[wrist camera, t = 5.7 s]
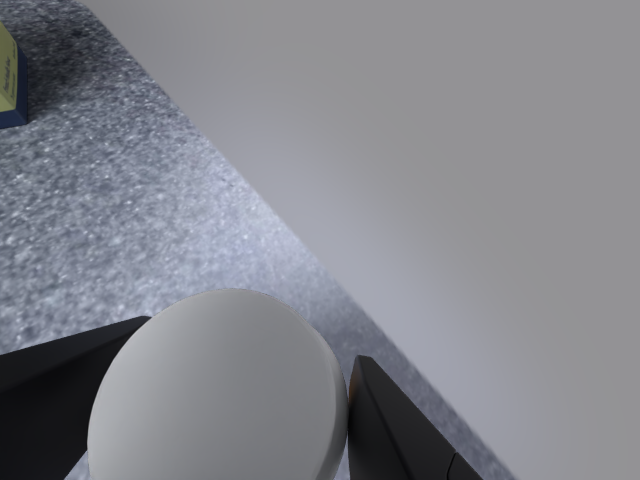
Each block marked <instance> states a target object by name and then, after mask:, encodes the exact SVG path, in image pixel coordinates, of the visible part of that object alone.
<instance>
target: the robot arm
mask: <svg viewBox="0 0 640 480" xmlns="http://www.w3.org/2000/svg"><path fill="white" fill-rule="evenodd" d="M151 318H152V317H149V316H139V317H136V318H132V319H128V320H125V321H121V322H118V323H114V324H110V325H107V326H103V327H100V328H96V329H92V330H89V331H85V332H82V333H78V334H74V335H71V336H67V337H64V338H60V339H56V340H53V341H49V342H46V343H42V344H38V345H35V346H31V347H28V348H24V349H20V350H17V351H13V352H10V353H6V354H2V355H0V480H64V479H65V477H66V476H67V475H68V474H69V472H70V471H71V470H72V469H73V467H74V466H75V465H76V463H77V462H78V461H79V460H80V458H81V457H82V456H83V455H84V453H85V452H86V451H87V449H88V447H87V440H88V429H89V422H90V417H91V412H92V408H93V404H94V401H95V398H96V396H97V393H98V390H99V387H100V385H101V383H102V380H103V378H104V376H105V374H106V372H107V371H108V369H109V367H110V365H111V363H112V361H113V360H114V358H115V357H116V356H117V354H118V353H119V351H120V350H121V348H122V347H123V346H124V345H125V343H126V342H127V341H128V340H129V339H130V337H131V336H132V335H133V334H134V333H135V332H136V331H137V330H138V329H139V328H140V327H142V326H143V325H144V324H145V323H146V322H147V321H148V320H150V319H151ZM455 452H456V450H455V449H454V447H453V446H452V445H451V444H450V443H449V442H448V441H447V440H446V439H445V438H444V436H443V435H442V434H441V433H440V432H439V431H438V430H437V429H436V428H435V427H434V425H433V424H432V423H431V422H430V421H429V420H428V419H427V418H426V417H425V416H424V414H423V413H422V412H421V411H420V410H419V409H418V408H417V407H416V406H415V405H414V403H413V402H412V401H411V400H410V399H409V398H408V397H407V396H406V395H405V394H404V392H403V391H402V390H401V389H400V388H399V387H398V386H397V385H396V384H395V383H394V381H393V380H392V379H391V378H390V377H389V376H388V375H387V374H386V373H385V372H384V370H383V369H382V368H381V367H380V366H379V365H378V364H377V363H376V362H375V361H374V359H373V358H371V357H367V356H362V355H358V356H356V358H355V362H354V366H353V371H352V375H351V380H350V386H349V422H348V458H349V470H350V480H483V479H482V478H481V477H480V476H479V475H478V473H477V472H476V471H475V470H474V469H473V468H472V467H471V466H470V465H469V464H468V463H467V462H466V461H465V459H464V458H463V457H462V456H461V455H460V454H459V453H458V452H456V453H455Z"/></svg>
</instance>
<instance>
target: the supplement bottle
mask: <svg viewBox="0 0 640 480" xmlns="http://www.w3.org/2000/svg"><path fill="white" fill-rule="evenodd" d="M348 422H349V405H348V397H347V390H346V384H345V381H344V377H343V374H342V371H341V368H340V365H339V363H338V361H337V359H336V357H335V355H334V353H333V351H332V350H331V348H330V346H329V345H328V344H327V342H326V341H325V339H324V338H323V337H322V336H321V335H320V334H319V333H318V332H317V331H316V330H315V328H313V327H312V326H311V325H310V324H309V323H308V322H307V321H306V320H305V319H304V318H303V317H302V316H301V315H300V314H299V313H298V312H297V311H295V310H294V309H293V308H291V307H290V306H288V305H287V304H285V303H283V302H282V301H280V300H278V299H276V298H274V297H272V296H269V295H267V294H263V293H260V292H257V291H252V290H246V289H233V288H232V289H218V290H211V291H206V292H202V293H199V294H196V295H193V296H189V297H187V298H184V299H182V300H180V301H178V302H176V303H174V304H172V305H170V306H169V307H167V308H165V309H164V310H162V311H161V312H159V313H157V314H156V315H155V316H154V317H152V318H151V319H150V320H148V321H147V322H146V323H145V324H144V325H143V326H142V327H140V328H139V329H138V330H137V331H136V332H135V333H134V334H133V335H132V336H131V337H130V339H129V340H128V341H127V342H126V343H125V345H124V346H123V347H122V348H121V350H120V351H119V353H118V354H117V356H116V357H115V358H114V360H113V361H112V363H111V365H110V367H109V369H108V371H107V372H106V374H105V376H104V378H103V380H102V383H101V385H100V387H99V390H98V393H97V396H96V398H95V401H94V404H93V408H92V412H91V417H90V422H89V429H88V440H87V447H88V465H89V471H90V476H91V480H333V479H334V477H335V474H336V472H337V470H338V467H339V464H340V461H341V459H342V455H343V452H344V448H345V444H346V438H347V431H348Z"/></svg>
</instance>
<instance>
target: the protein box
mask: <svg viewBox="0 0 640 480" xmlns="http://www.w3.org/2000/svg"><path fill="white" fill-rule="evenodd" d="M24 124H27V57H26V56H25V54H24V53H23V52H22V50H21V49H20V48H19V46H18V45H17V43H16V42H15V40H14V39H13V38H12V36H11V35H10V33H9V32H8V31H7V29H6V28H5V27H4V25H3V24H2V22H1V21H0V129H2V128H8V127H14V126H20V125H24Z"/></svg>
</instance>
